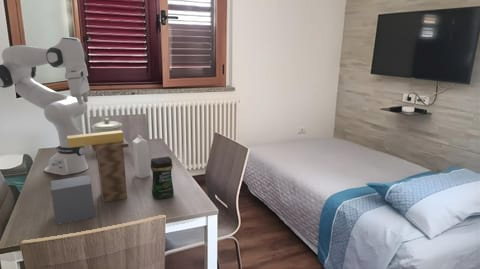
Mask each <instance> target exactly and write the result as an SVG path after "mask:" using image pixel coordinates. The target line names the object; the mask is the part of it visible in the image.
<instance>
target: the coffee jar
mask: <svg viewBox="0 0 480 269" xmlns="http://www.w3.org/2000/svg"><path fill="white" fill-rule="evenodd" d="M173 167H174V165H173V160H172V158H171V157H170V156H169V155H168V156H161V157H154V158H151V159H150V171H152V184H151V196H152V198H154V199H156V200H163V199H167V198H171V197H173V196H174V193H175V192H174V184H173V178H172V170H173Z"/></svg>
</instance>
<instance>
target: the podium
mask: <svg viewBox="0 0 480 269" xmlns="http://www.w3.org/2000/svg"><path fill="white" fill-rule="evenodd" d="M50 192H51V193H50V194H51V200H52V206H53V213H54V214H53V215H54V220H55V221H54V222H55V225H56V224H58V225H60V224H59V223H63V224H66V222H68V223H71V222H70V221H73V222H76V221H75V220H77V221H81V219H82V220H86V218H87V219H91V217H92V218H95V217H96V216H95V215H96V214H95V204H94V196H93V188H92V183H91V178H90V175H89V174H88V175H81V176H75V177H69V178H63V179H56V180H55V179H54V180H51V181H50Z"/></svg>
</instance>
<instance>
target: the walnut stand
mask: <svg viewBox="0 0 480 269" xmlns="http://www.w3.org/2000/svg"><path fill="white" fill-rule="evenodd" d="M90 146H91V148H92V151H93V152H96V158H97V168H98V177H99V187H100V195H101V197H102V201H103V203H109V202H113V201H117V200H124V199H128V190H127V178H126V167H125V166H126V165H125V155H124V149H125V148H129V147H130V146H129V143H128V141H127V140H126V139H125V138H124V141H121V142H113V143H104V144H96V145H90Z"/></svg>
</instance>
